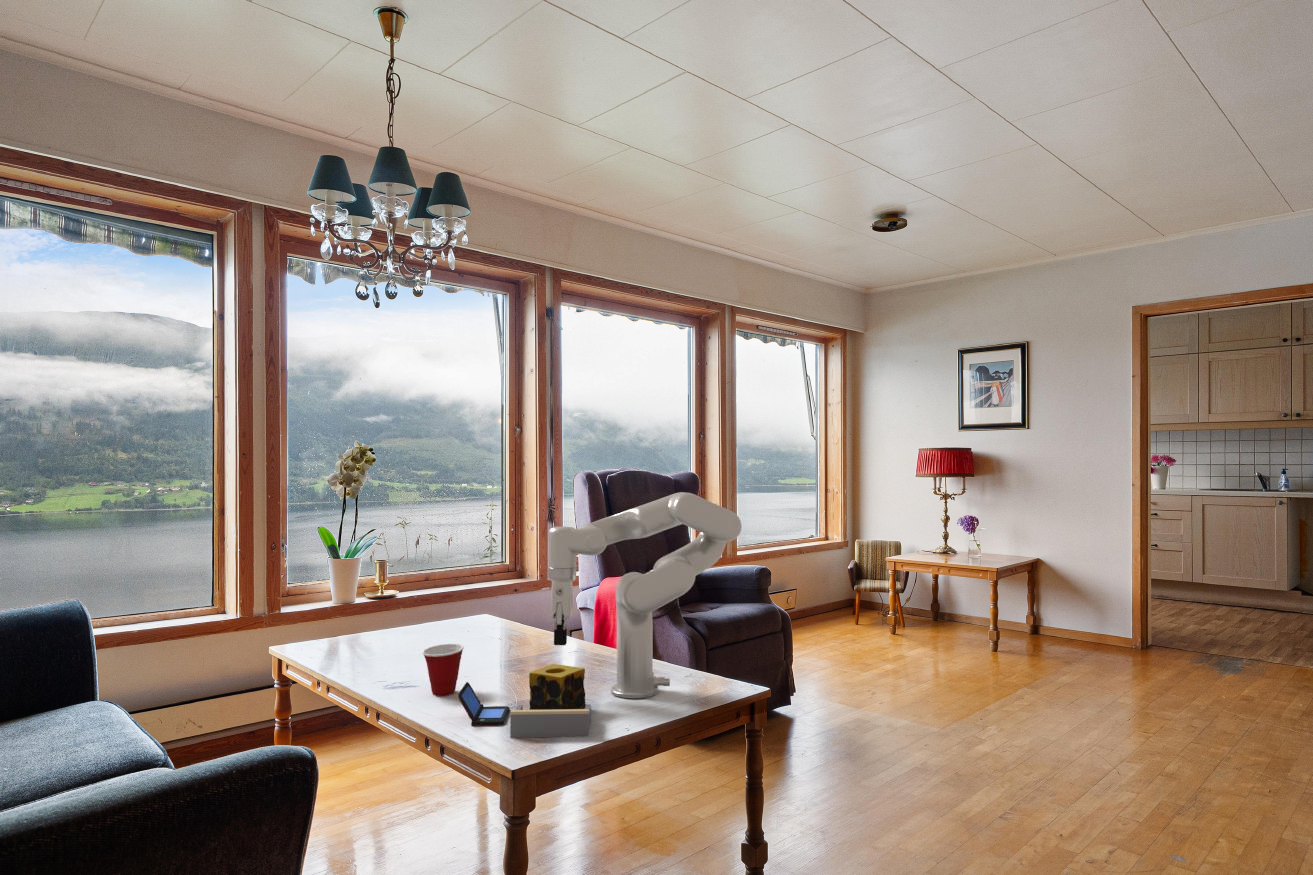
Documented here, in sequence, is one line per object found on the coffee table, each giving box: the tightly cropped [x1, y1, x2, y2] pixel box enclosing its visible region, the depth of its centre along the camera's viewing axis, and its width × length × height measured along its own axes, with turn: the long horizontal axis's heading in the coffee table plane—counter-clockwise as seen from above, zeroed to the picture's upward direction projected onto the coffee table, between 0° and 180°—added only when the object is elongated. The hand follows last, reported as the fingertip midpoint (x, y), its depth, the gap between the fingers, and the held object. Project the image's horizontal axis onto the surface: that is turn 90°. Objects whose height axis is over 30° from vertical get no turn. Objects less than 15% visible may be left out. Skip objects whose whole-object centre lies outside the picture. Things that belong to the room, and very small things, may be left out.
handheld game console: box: [457, 681, 511, 727], centre depth 183 cm, size 12×11×7 cm
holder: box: [509, 703, 592, 739], centre depth 175 cm, size 17×10×6 cm, turn 92°
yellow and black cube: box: [528, 663, 587, 710], centre depth 189 cm, size 10×10×10 cm
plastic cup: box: [421, 643, 465, 697], centre depth 204 cm, size 11×11×12 cm
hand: (560, 644), depth 200 cm, fingers closed
